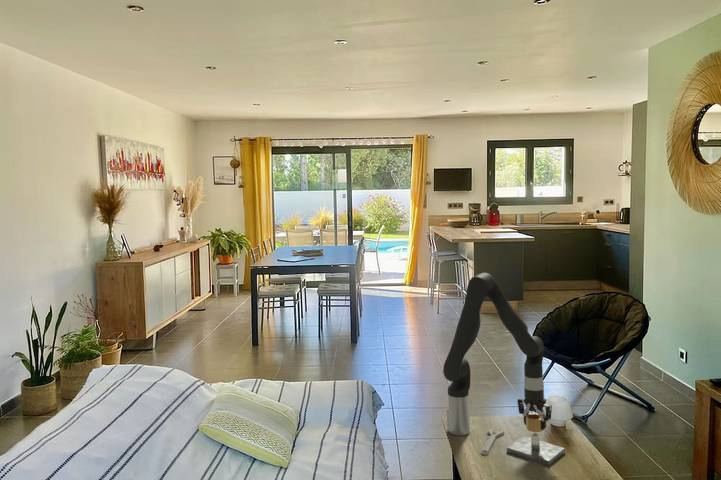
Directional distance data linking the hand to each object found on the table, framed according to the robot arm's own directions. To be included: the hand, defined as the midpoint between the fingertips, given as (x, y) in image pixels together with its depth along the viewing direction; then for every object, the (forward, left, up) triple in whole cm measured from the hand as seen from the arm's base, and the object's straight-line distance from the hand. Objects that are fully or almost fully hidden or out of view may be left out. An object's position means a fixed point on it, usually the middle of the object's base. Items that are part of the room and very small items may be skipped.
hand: (535, 426), depth 214 cm
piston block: (0, 0, -11) cm, 11 cm away
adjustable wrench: (-19, -3, -11) cm, 23 cm away
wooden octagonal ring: (0, 0, -1) cm, 1 cm away
